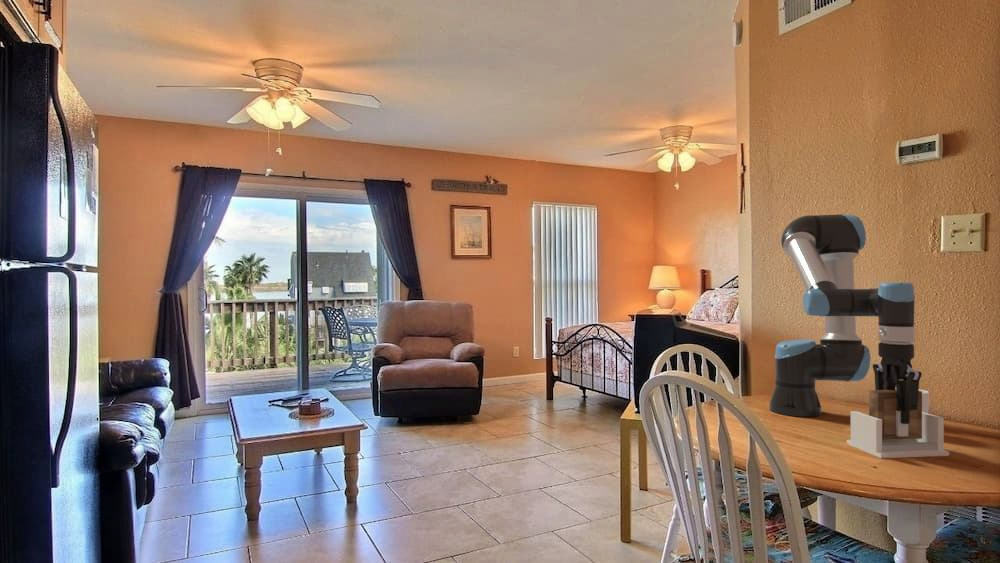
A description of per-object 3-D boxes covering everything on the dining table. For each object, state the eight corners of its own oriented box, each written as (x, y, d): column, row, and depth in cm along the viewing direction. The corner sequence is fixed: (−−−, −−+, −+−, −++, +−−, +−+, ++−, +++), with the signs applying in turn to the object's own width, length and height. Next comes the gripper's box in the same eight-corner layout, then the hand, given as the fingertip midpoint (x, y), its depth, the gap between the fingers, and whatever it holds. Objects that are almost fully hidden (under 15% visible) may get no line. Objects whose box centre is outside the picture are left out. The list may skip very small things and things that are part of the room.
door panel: (869, 436, 146) (869, 390, 146) (912, 435, 147) (912, 389, 147) (878, 440, 143) (878, 393, 143) (922, 438, 144) (922, 391, 144)
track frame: (846, 443, 150) (846, 409, 150) (909, 441, 152) (909, 408, 152) (880, 458, 139) (880, 421, 138) (948, 455, 140) (949, 419, 140)
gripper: (859, 339, 153) (859, 425, 153) (908, 346, 137) (908, 443, 137) (885, 338, 154) (885, 424, 154) (937, 346, 137) (936, 442, 137)
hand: (895, 433), depth 145 cm, fingers closed on door panel, 3 cm apart
